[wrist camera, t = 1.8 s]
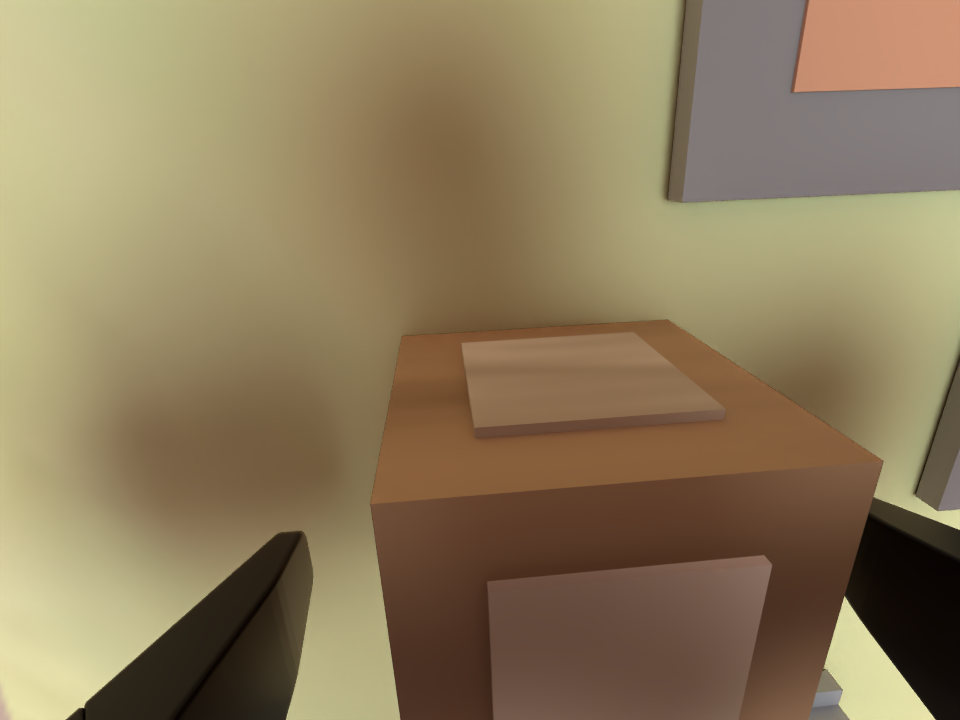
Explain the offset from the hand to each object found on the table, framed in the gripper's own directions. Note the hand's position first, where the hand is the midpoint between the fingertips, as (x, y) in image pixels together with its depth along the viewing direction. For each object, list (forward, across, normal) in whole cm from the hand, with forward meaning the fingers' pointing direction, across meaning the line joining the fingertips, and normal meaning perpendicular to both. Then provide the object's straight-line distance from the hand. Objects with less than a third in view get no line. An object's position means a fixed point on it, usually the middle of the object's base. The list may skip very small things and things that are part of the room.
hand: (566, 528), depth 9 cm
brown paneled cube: (+3, 0, 0) cm, 3 cm away
